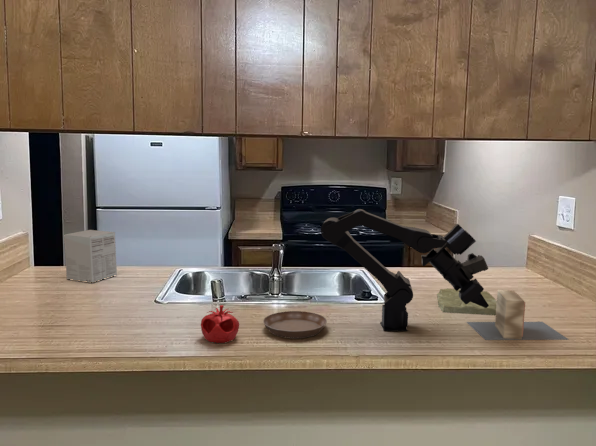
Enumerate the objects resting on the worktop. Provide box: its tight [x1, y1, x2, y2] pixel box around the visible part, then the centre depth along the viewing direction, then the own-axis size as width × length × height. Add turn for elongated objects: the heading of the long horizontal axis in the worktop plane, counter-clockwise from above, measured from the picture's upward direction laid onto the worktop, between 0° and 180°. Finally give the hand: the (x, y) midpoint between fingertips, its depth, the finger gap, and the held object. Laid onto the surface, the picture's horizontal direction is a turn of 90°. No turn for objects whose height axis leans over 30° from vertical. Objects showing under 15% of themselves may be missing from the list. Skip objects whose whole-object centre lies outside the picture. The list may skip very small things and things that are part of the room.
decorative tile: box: [436, 288, 497, 316], centre depth 167 cm, size 19×20×4 cm
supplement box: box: [63, 229, 118, 282], centre depth 197 cm, size 13×13×18 cm
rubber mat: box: [466, 321, 570, 341], centre depth 144 cm, size 22×14×1 cm, turn 92°
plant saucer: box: [262, 310, 327, 339], centre depth 145 cm, size 18×18×3 cm
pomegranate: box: [200, 304, 240, 344], centre depth 137 cm, size 10×10×9 cm
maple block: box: [494, 289, 526, 339], centre depth 142 cm, size 5×10×10 cm, turn 172°
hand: (487, 306), depth 142 cm, fingers closed
